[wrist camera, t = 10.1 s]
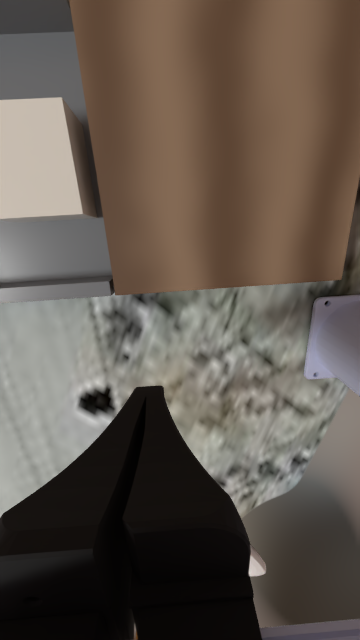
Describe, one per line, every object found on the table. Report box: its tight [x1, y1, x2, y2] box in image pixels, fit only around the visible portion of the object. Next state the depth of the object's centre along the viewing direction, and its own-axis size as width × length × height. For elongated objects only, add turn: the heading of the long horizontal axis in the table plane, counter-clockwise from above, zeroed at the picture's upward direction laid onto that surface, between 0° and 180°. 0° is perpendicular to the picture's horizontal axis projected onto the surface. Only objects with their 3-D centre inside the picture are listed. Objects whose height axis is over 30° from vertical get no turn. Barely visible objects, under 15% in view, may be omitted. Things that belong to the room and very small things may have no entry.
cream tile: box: [0, 97, 97, 223], centre depth 14 cm, size 6×6×3 cm
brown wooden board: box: [69, 0, 360, 295], centre depth 15 cm, size 16×16×3 cm
